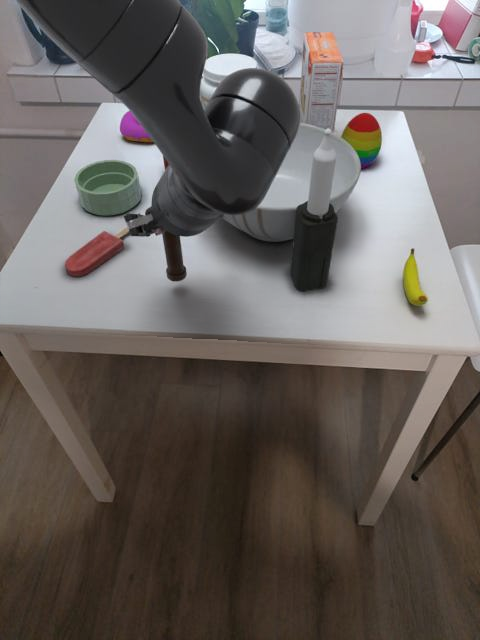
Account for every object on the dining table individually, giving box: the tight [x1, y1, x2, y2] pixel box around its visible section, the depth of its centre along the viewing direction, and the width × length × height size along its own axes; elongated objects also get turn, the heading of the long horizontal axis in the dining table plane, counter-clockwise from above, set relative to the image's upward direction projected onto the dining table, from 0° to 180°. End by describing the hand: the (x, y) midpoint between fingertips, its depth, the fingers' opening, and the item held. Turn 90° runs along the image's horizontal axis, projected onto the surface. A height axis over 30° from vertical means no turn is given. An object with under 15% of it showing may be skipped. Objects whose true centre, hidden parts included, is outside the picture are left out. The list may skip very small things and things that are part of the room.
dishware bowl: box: [222, 123, 362, 243], centre depth 83 cm, size 27×27×12 cm
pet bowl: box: [73, 159, 142, 217], centre depth 90 cm, size 11×11×5 cm
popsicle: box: [64, 226, 130, 277], centre depth 82 cm, size 4×2×15 cm
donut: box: [119, 110, 154, 143], centre depth 107 cm, size 10×10×5 cm
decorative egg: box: [340, 112, 383, 169], centre depth 97 cm, size 8×8×10 cm
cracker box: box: [298, 31, 344, 134], centre depth 96 cm, size 14×6×21 cm, turn 0°
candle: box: [289, 129, 339, 292], centre depth 68 cm, size 5×5×25 cm
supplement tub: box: [200, 53, 258, 110], centre depth 99 cm, size 12×12×17 cm
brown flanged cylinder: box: [161, 231, 188, 282], centre depth 69 cm, size 3×3×12 cm
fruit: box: [402, 248, 429, 307], centre depth 74 cm, size 10×2×5 cm, turn 177°
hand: (165, 224), depth 69 cm, fingers closed on brown flanged cylinder, 2 cm apart
